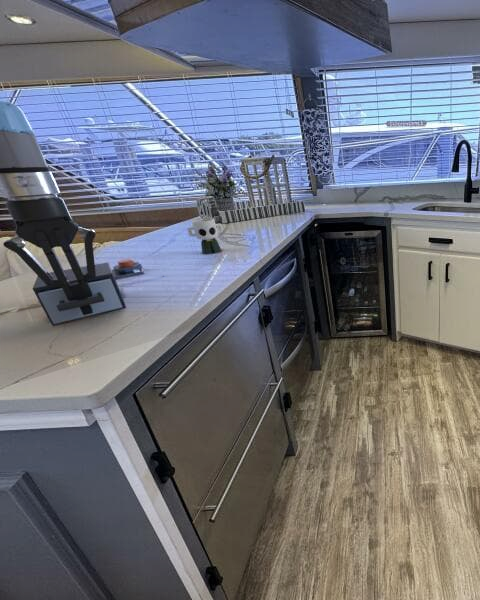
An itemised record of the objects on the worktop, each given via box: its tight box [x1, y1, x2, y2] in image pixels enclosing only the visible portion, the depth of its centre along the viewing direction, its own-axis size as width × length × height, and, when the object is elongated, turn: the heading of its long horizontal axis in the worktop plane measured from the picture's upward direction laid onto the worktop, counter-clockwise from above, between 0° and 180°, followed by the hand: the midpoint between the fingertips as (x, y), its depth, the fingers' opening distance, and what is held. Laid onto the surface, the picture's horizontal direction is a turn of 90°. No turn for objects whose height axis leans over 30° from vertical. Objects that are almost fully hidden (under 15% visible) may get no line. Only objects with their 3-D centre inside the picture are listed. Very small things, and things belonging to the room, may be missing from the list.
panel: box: [111, 261, 145, 281], centre depth 96 cm, size 12×10×4 cm
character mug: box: [187, 218, 224, 255], centre depth 116 cm, size 11×7×13 cm, turn 128°
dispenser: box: [32, 262, 127, 327], centre depth 75 cm, size 14×13×9 cm
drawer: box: [38, 278, 123, 324], centre depth 72 cm, size 17×11×7 cm, turn 43°
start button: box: [117, 258, 135, 267], centre depth 96 cm, size 4×4×2 cm
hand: (88, 312), depth 69 cm, fingers closed
